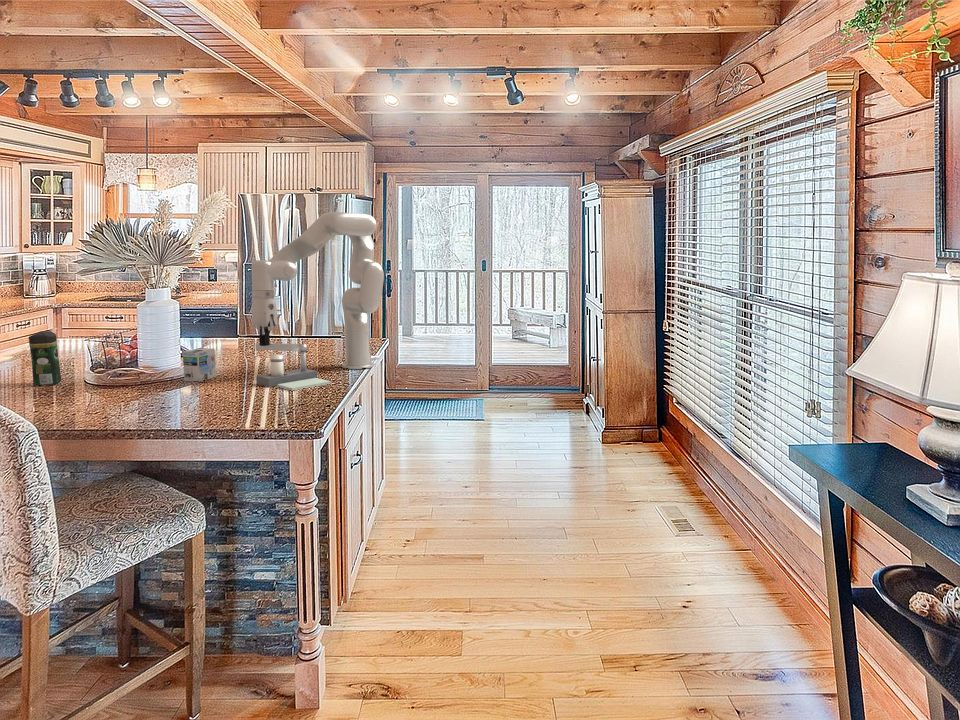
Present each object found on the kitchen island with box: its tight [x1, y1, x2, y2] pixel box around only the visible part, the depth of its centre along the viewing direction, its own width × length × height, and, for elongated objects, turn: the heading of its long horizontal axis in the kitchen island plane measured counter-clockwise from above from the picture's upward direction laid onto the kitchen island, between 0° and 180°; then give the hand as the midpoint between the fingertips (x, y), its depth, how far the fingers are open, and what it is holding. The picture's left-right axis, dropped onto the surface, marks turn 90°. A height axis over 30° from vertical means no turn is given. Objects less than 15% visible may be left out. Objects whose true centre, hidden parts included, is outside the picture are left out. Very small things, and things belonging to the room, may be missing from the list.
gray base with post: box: [255, 351, 318, 388], centre depth 258 cm, size 20×8×10 cm, turn 138°
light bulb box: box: [182, 347, 217, 383], centre depth 262 cm, size 11×7×11 cm, turn 168°
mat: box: [276, 377, 332, 392], centre depth 252 cm, size 16×9×1 cm, turn 138°
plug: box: [269, 354, 285, 377], centre depth 255 cm, size 4×4×10 cm
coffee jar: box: [28, 330, 62, 386], centre depth 251 cm, size 10×8×19 cm
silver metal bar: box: [255, 342, 308, 352], centre depth 263 cm, size 19×3×2 cm, turn 80°
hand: (264, 345), depth 262 cm, fingers closed
